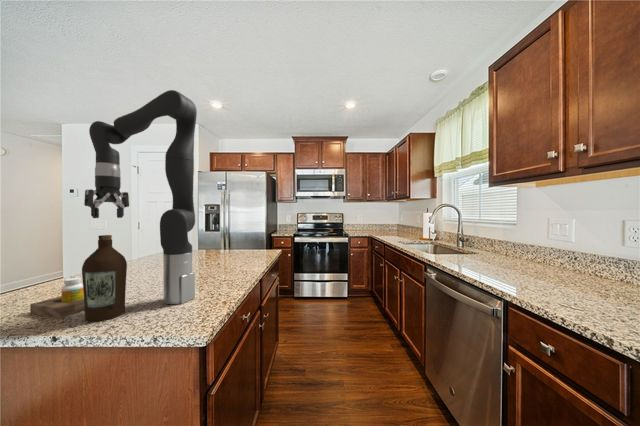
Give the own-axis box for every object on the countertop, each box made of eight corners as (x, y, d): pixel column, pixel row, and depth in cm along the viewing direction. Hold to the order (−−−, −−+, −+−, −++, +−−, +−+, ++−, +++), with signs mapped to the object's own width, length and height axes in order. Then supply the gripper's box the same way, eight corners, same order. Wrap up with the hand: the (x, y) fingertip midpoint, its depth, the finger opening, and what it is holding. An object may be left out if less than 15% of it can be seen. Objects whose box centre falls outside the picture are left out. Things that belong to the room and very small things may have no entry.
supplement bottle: (70, 311, 81) (69, 281, 81) (57, 310, 82) (56, 280, 82) (88, 305, 86) (87, 277, 86) (76, 304, 87) (75, 276, 87)
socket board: (110, 302, 89) (110, 293, 89) (60, 318, 75) (60, 308, 75) (82, 298, 93) (82, 290, 93) (30, 313, 79) (30, 304, 79)
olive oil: (90, 312, 80) (90, 234, 80) (131, 306, 84) (130, 233, 84) (75, 325, 70) (74, 237, 70) (121, 318, 75) (121, 236, 75)
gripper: (94, 172, 88) (94, 218, 88) (133, 178, 102) (134, 217, 102) (79, 173, 90) (79, 218, 90) (119, 178, 104) (120, 217, 104)
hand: (108, 217), depth 96 cm, fingers open, 8 cm apart
